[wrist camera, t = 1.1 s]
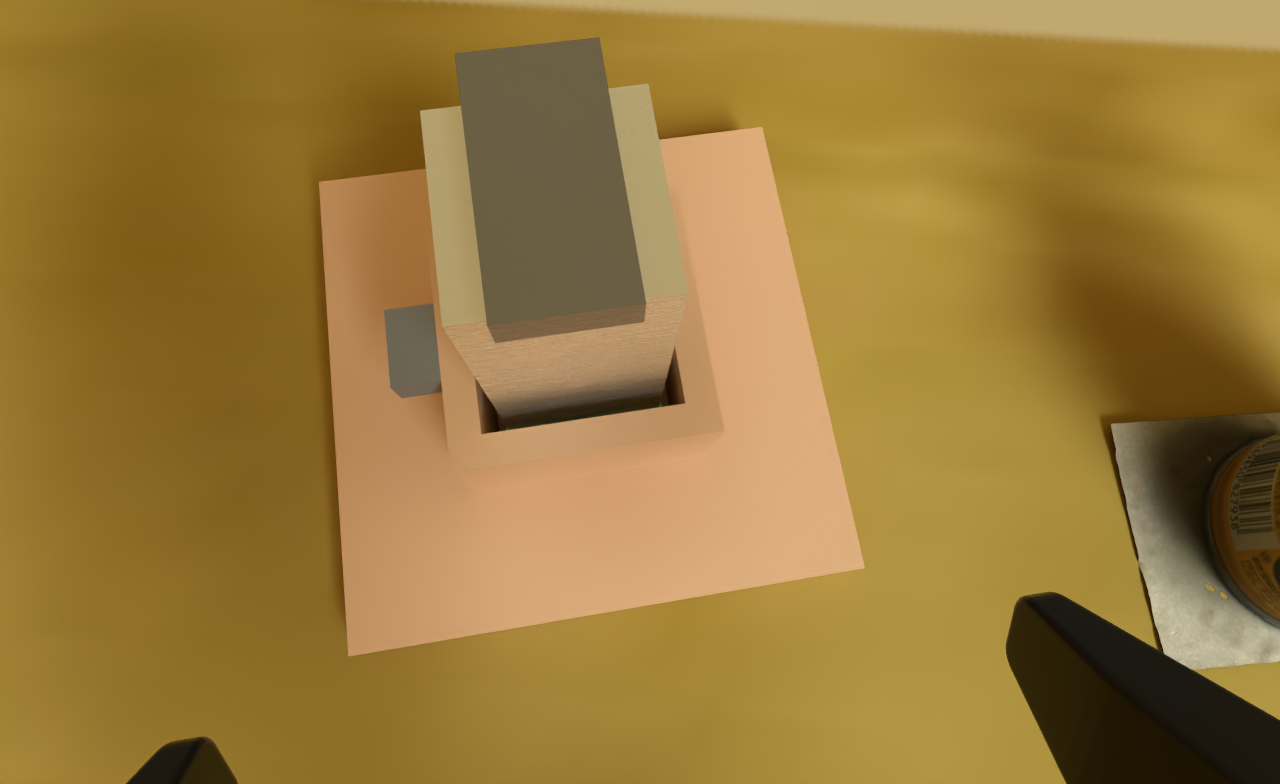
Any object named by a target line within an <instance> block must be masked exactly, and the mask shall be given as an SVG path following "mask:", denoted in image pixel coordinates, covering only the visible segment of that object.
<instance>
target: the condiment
mask: <svg viewBox="0 0 1280 784" xmlns="http://www.w3.org/2000/svg"><path fill="white" fill-rule="evenodd" d="M1111 428H1112V434H1113V439H1114V443H1115V447H1116V460H1117V463H1118V467H1119V472H1120V478H1121V481H1122V487H1123V490H1124V493H1125V497H1126V503H1127V511H1128V515H1129V519H1130V523H1131V527H1132V531H1133V535H1134V539H1135V543H1136V547H1137V550H1138V555H1139V561H1138V562H1139V567H1140V569H1141V571H1142V573H1143V576H1144V579H1145V582H1146V585H1147V589H1148V593H1149V597H1150V600H1151V606H1152V612H1153V617H1154V622H1155V625H1156V628H1157V630H1158V633H1159V636H1160V640H1161V644H1162V648H1163V652H1164V654H1166V655H1167V656H1169V657H1171V658H1173V659H1174V660H1176V661H1178V662H1179V663H1181V664H1183V665H1185V666H1186V667H1188V668H1190V669H1192V670H1195V669H1205V668H1212V667H1224V666H1238V665H1244V664H1253V663H1268V662H1276V661H1280V412H1274V413H1259V414H1245V415H1232V416H1212V417H1201V418H1186V419H1176V420H1162V421H1141V422H1131V423H1117V424H1111ZM1209 456H1210V457H1211V459H1212V461H1208V460H1207V457H1209ZM1205 583H1207V584H1209V585H1211V586H1212V587H1213V588H1214V589H1215V591H1214V592H1211V591H1209V590H1208V589H1207V588H1206V586H1205ZM1220 592H1224V593H1225V594H1226V595H1227V599H1223V598H1222V597H1221V596H1220Z"/></svg>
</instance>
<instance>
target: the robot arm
mask: <svg viewBox="0 0 1280 784" xmlns="http://www.w3.org/2000/svg"><path fill="white" fill-rule="evenodd" d="M1006 654H1007V659H1008V662H1009V665H1010V667H1011V670H1012V672H1013V674H1014V676H1015V678H1016V680H1017V682H1018V684H1019V686H1020V688H1021V691H1022V693H1023V695H1024V697H1025V699H1026V701H1027V703H1028V705H1029V707H1030V709H1031V711H1032V713H1033V716H1034V718H1035V720H1036V722H1037V724H1038V726H1039V728H1040V730H1041V732H1042V734H1043V736H1044V739H1045V741H1046V743H1047V745H1048V747H1049V749H1050V751H1051V753H1052V755H1053V757H1054V759H1055V761H1056V764H1057V766H1058V768H1059V770H1060V772H1061V774H1062V776H1063V778H1064V780H1065V782H1066V784H1280V720H1278V719H1277V718H1275V717H1273V716H1271V715H1270V714H1268V713H1266V712H1265V711H1263V710H1261V709H1259V708H1258V707H1256V706H1254V705H1252V704H1251V703H1249V702H1247V701H1245V700H1244V699H1242V698H1240V697H1238V696H1237V695H1235V694H1233V693H1232V692H1230V691H1228V690H1226V689H1225V688H1223V687H1221V686H1219V685H1218V684H1216V683H1214V682H1212V681H1211V680H1209V679H1207V678H1206V677H1204V676H1202V675H1200V674H1199V673H1197V672H1195V671H1193V670H1192V669H1190V668H1188V667H1186V666H1185V665H1183V664H1181V663H1179V662H1178V661H1176V660H1174V659H1173V658H1171V657H1169V656H1167V655H1166V654H1164V653H1162V652H1160V651H1159V650H1157V649H1155V648H1153V647H1152V646H1150V645H1148V644H1146V643H1145V642H1143V641H1141V640H1140V639H1138V638H1136V637H1134V636H1133V635H1131V634H1129V633H1127V632H1126V631H1124V630H1122V629H1120V628H1119V627H1117V626H1115V625H1114V624H1112V623H1110V622H1108V621H1107V620H1105V619H1103V618H1101V617H1100V616H1098V615H1096V614H1094V613H1093V612H1091V611H1089V610H1087V609H1086V608H1084V607H1082V606H1081V605H1079V604H1077V603H1075V602H1074V601H1072V600H1070V599H1068V598H1067V597H1065V596H1063V595H1061V594H1058V593H1055V592H1044V593H1038V594H1032V595H1027V596H1023V597H1020V598H1019V600H1018V601H1017V602H1016V604H1015V607H1014V611H1013V616H1012V620H1011V624H1010V629H1009V633H1008V637H1007V642H1006ZM126 784H238V783H237V780H236V778H235V776H234V775H233V773H232V771H231V770H230V768H229V766H228V765H227V763H226V761H225V759H224V758H223V756H222V754H221V753H220V751H219V749H218V748H217V746H216V744H215V743H214V742H213V740H211V739H209V738H207V737H196V738H190V739H184V740H178V741H174V742H170V743H168V744H166V745H164V746H163V747H162V748H160V749H159V750H158V751H157V752H156V753H155V754H154V755H153V756H152V757H151V758H150V759H149V760H148V761H147V762H146V763H145V764H144V765H143V766H142V767H141V768H140V770H139V771H138V772H137V773H136V774H135V775H134V776H133V777H132V778H131V779H130V780H129V781H128V782H127V783H126Z"/></svg>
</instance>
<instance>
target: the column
mask: <svg viewBox="0 0 1280 784" xmlns="http://www.w3.org/2000/svg"><path fill="white" fill-rule="evenodd" d="M455 61H456V69H457V77H458V86H459V94H460V103H461V106H455V107H447V108H438V109H430V110H421V111H420V116H421V126H422V135H423V145H424V155H425V165H426V174H427V184H428V194H429V204H430V213H431V223H432V233H433V243H434V252H435V262H436V272H437V281H438V291H439V301H440V311H441V320H442V327H443V329H444V331H445V332H446V334H447V335H448V337H449V338H450V340H451V341H452V343H453V344H454V346H455V347H456V349H457V351H458V352H459V354H460V355H461V357H462V358H463V360H464V361H465V363H466V364H467V366H468V367H469V369H470V371H471V372H472V374H473V375H474V377H475V378H476V380H477V381H478V383H479V384H480V386H481V387H482V389H483V391H484V392H485V394H486V395H487V397H488V398H489V400H490V401H491V403H492V404H493V406H494V407H495V409H496V411H497V412H498V414H499V415H500V417H501V418H502V420H503V421H504V423H505V424H506V429H507V430H513V429H519V428H526V427H533V426H539V425H546V424H553V423H559V422H566V421H572V420H579V419H586V418H592V417H599V416H605V415H612V414H619V413H625V412H632V411H638V410H645V409H652V408H658V407H662V406H661V398H662V394H663V390H664V386H665V382H666V378H667V374H668V370H669V367H670V363H671V359H672V355H673V351H674V347H675V343H676V339H677V335H678V331H679V327H680V324H681V320H682V316H683V312H684V308H685V304H686V300H687V296H688V288H687V282H686V277H685V272H684V267H683V262H682V256H681V251H680V246H679V241H678V236H677V231H676V225H675V220H674V215H673V210H672V205H671V199H670V194H669V189H668V184H667V179H666V173H665V168H664V163H663V158H662V153H661V148H660V142H659V137H658V132H657V127H656V122H655V116H654V111H653V106H652V101H651V96H650V91H649V85H648V84H642V85H633V86H625V87H616V88H608V84H607V78H606V73H605V67H604V62H603V56H602V50H601V45H600V39H599V37H598V38H589V39H580V40H571V41H563V42H554V43H545V44H536V45H527V46H518V47H509V48H500V49H492V50H483V51H474V52H465V53H456V54H455Z"/></svg>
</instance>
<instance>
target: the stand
mask: <svg viewBox="0 0 1280 784" xmlns="http://www.w3.org/2000/svg"><path fill="white" fill-rule="evenodd" d="M659 142H660V148H661V153H662V158H663V163H664V168H665V173H666V179H667V184H668V189H669V194H670V199H671V205H672V210H673V215H674V220H675V225H676V231H677V236H678V241H679V246H680V251H681V256H682V262H683V267H684V272H685V277H686V282H687V288H688V296H687V300H686V304H685V308H684V312H683V316H682V320H681V324H680V327H679V331H678V335H677V339H676V343H675V347H674V351H673V355H672V359H671V363H670V367H669V370H668V374H667V378H666V382H665V386H664V390H663V394H662V398H661V406H662V407H658V408H652V409H645V410H638V411H632V412H625V413H619V414H612V415H605V416H599V417H592V418H586V419H579V420H572V421H566V422H559V423H553V424H546V425H539V426H533V427H526V428H519V429H513V430H507V429H506V424H505V423H504V421H503V420H502V418H501V417H500V415H499V414H498V412H497V411H496V409H495V407H494V406H493V404H492V403H491V401H490V400H489V398H488V397H487V395H486V394H485V392H484V391H483V389H482V387H481V386H480V384H479V383H478V381H477V380H476V378H475V377H474V375H473V374H472V372H471V371H470V369H469V367H468V366H467V364H466V363H465V361H464V360H463V358H462V357H461V355H460V354H459V352H458V351H457V349H456V347H455V346H454V344H453V343H452V341H451V340H450V338H449V337H448V335H447V334H446V332H445V331H444V329H443V327H442V320H441V311H440V301H439V291H438V281H437V272H436V262H435V252H434V243H433V233H432V223H431V213H430V204H429V194H428V184H427V174H426V169H418V170H410V171H402V172H394V173H386V174H378V175H370V176H362V177H354V178H346V179H338V180H330V181H322V182H319V191H320V207H321V224H322V240H323V256H324V272H325V288H326V304H327V320H328V336H329V352H330V369H331V385H332V401H333V417H334V433H335V449H336V465H337V481H338V497H339V514H340V530H341V546H342V562H343V578H344V594H345V610H346V626H347V643H348V657H349V656H355V655H361V654H367V653H373V652H378V651H384V650H390V649H396V648H402V647H408V646H413V645H419V644H425V643H431V642H437V641H443V640H448V639H454V638H460V637H466V636H472V635H478V634H483V633H489V632H495V631H501V630H507V629H513V628H518V627H524V626H530V625H536V624H542V623H547V622H553V621H559V620H565V619H571V618H577V617H582V616H588V615H594V614H600V613H606V612H612V611H617V610H623V609H629V608H635V607H641V606H647V605H652V604H658V603H664V602H670V601H676V600H682V599H687V598H693V597H699V596H705V595H711V594H717V593H722V592H728V591H734V590H740V589H746V588H752V587H757V586H763V585H769V584H775V583H781V582H787V581H792V580H798V579H804V578H810V577H816V576H821V575H827V574H833V573H839V572H845V571H851V570H856V569H862V568H865V566H864V562H863V557H862V553H861V549H860V544H859V540H858V536H857V532H856V527H855V523H854V519H853V514H852V510H851V506H850V502H849V497H848V493H847V489H846V484H845V480H844V476H843V472H842V467H841V463H840V459H839V454H838V450H837V446H836V442H835V437H834V433H833V429H832V424H831V420H830V416H829V412H828V407H827V403H826V399H825V394H824V390H823V386H822V382H821V377H820V373H819V369H818V364H817V360H816V356H815V352H814V347H813V343H812V339H811V334H810V330H809V326H808V322H807V317H806V313H805V309H804V304H803V300H802V296H801V292H800V287H799V283H798V279H797V274H796V270H795V266H794V262H793V257H792V253H791V249H790V244H789V240H788V236H787V232H786V227H785V223H784V219H783V214H782V210H781V206H780V202H779V197H778V193H777V189H776V184H775V180H774V176H773V172H772V167H771V163H770V159H769V154H768V150H767V146H766V142H765V137H764V133H763V129H762V127H758V128H750V129H742V130H734V131H725V132H717V133H709V134H701V135H693V136H685V137H677V138H669V139H661V140H659Z"/></svg>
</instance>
